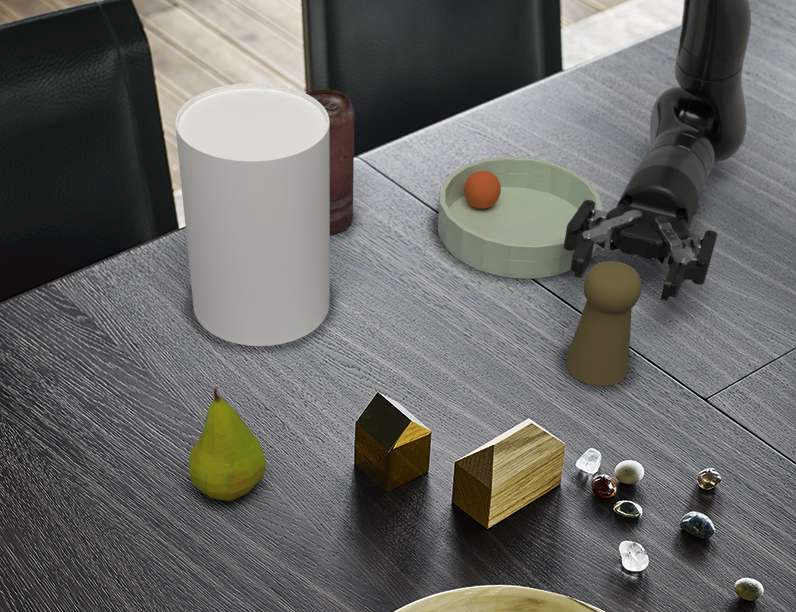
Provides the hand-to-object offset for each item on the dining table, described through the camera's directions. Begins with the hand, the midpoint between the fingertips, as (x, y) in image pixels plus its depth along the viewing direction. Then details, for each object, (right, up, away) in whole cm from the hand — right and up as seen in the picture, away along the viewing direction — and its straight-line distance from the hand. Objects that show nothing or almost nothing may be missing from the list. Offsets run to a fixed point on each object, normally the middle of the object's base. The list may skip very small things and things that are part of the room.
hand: (621, 281), depth 119 cm
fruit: (-36, -20, -12) cm, 43 cm away
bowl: (-8, +8, +17) cm, 21 cm away
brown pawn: (-2, -8, +2) cm, 8 cm away
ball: (-12, +13, +18) cm, 25 cm away
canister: (-35, -1, +6) cm, 35 cm away
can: (-29, +9, +17) cm, 35 cm away
